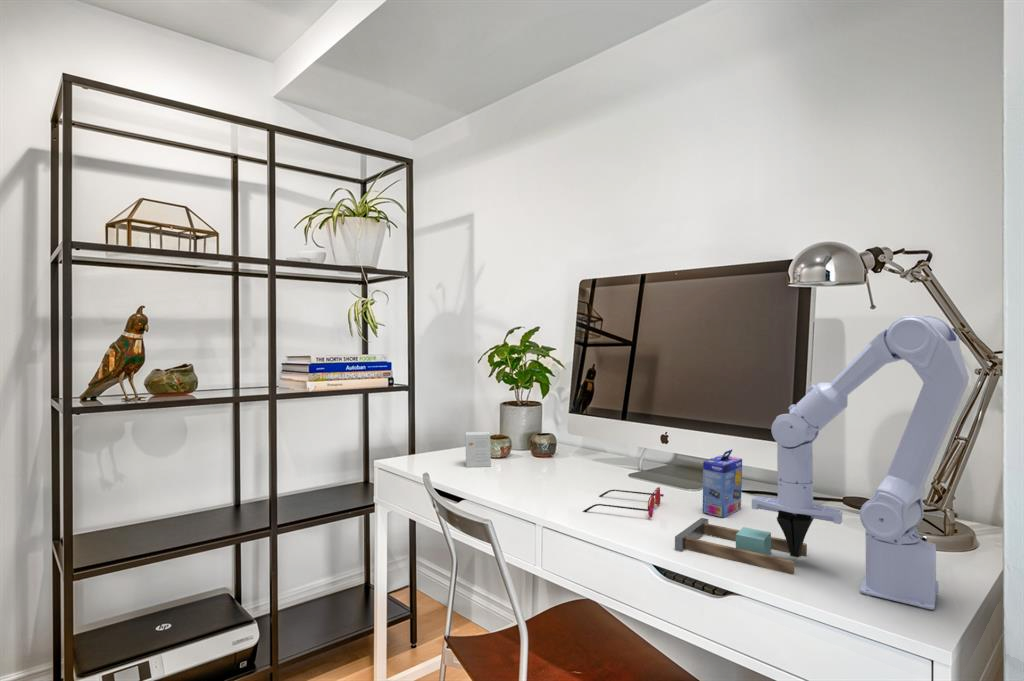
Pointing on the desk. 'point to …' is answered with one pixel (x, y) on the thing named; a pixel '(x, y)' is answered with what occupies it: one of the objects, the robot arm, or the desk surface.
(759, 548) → the block
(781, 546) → the guide track
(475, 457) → the small box
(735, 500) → the ink cartridge box
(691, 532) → the end stop
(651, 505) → the glasses
